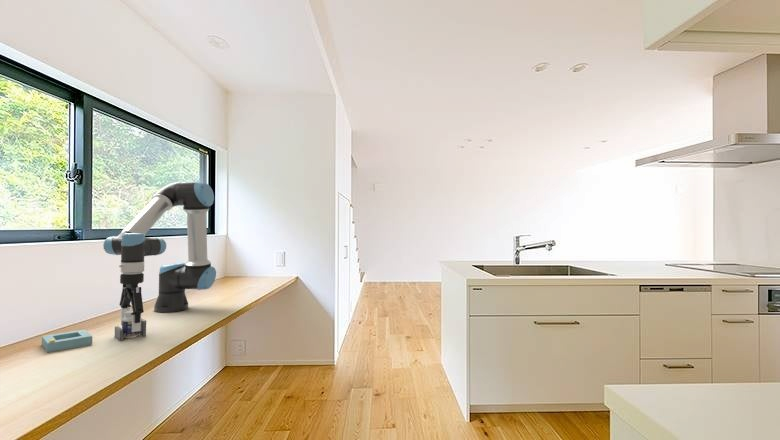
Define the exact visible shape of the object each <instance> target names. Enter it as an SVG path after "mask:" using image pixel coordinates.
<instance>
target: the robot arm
mask: <svg viewBox="0 0 780 440" xmlns="http://www.w3.org/2000/svg"><path fill="white" fill-rule="evenodd" d="M214 201H215V195H214V191H213V189H212V187H211V186H210V185H209V184H208V183H206V182H199V181H197V182H196V181H195V182H191V181H190V182H188V181H186V182H184V181H183V182H182V181H177V182H172V183H170V184H168V185H165V186H164V187H162V188H160V189H159V190H158V191H157V192H156V193H154V195H153V196H152V197H151V201H150V202H149V203H148V204H147V205H146V206H145V207H144V208H143V209H142V210H141V211H140V212H139V213H138V214H137V215H136V216H135V218H133V219H132V220H131V221H130V222H129V224H127V226H125V227H124V229H122V231H121V232H120V233H119V234H117V235H116V236H114V235H113V236H109V237H106V239H105V240H104V242H103V247H102V248H103V250H104V251H105V253H107V254H108V255H113V256H120V259H121V260H120V264H119V265H118V267H119V268H120V272H121V274H120V275H119V279H120V280H119V283H120V284H121V285H122V289H121V296H120V301H119V306H120V310H121V311H120V326H122V319H123V318H124V317H125V312H126V311H131V310H133V312H132V313H131V315H132V332H136V331H141V318H142V314H143V313H144V304H143V296H142V287H141V286H139V284H142V283H143V282H144V278H145V277H144V276H145V274H144V273H143V272H144V271H145V257H150V256H155V257H156V256H159V255H162V254H163V253H165V252H166V249H167V242H166V241H165V239H164V238H162V237H159V236H158V237H157V236H153V237H146V234H147V233H148V232H149V231H150V230H151V228H153V226H154V225H155V224H156V223H157V222H159V221H158V220H159V219H161V217H162V216H163V215H164V214H165V213H166V212H168V211H170V210H171V209H172V208H174V207H178V206H182V209H183V211H184V212H185V213H186V226H187V229H186V231H187V232H186V233H187V252H188V253H187V257H188V260H187V261H186V262H179V263H172V264H165V265H162V266H160V267H159V272H158V296H157V298H156V301H155V304H154V306H153V311H154V312H155V313H176V312H180V311H181V312H182V311H186V310H188V309H189V300H188V298H187V296H186V290H198V291H202V290H203V291H204V290H208V289H210V288H211V287H212V286H213V285H214V283H215V281H216V278H217V270H216V267H214V266H212V262H211V261H210V260H209V259H208V236H207V235H208V234H207V233H208V231H207V213H208V211H209V210H210V207H211V206H212V205H213V204H214Z"/></svg>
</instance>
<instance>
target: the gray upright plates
mask: <svg viewBox="0 0 780 440" xmlns="http://www.w3.org/2000/svg"><path fill="white" fill-rule="evenodd" d="M139 335H140V336H141V337H146V336H147V320H146V319H144V318H142V317H141V331H139V334H138V336H139ZM114 338H115V339H116V340H118V341H119V342H123V340H124V338H123V329H122V327H120V326H118V325H117V326H114Z"/></svg>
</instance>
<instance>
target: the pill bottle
mask: <svg viewBox="0 0 780 440" xmlns="http://www.w3.org/2000/svg"><path fill="white" fill-rule="evenodd" d="M132 312H133V309H130V311H126V312H125V317H124V318H123V319H122V325H121V329H123V339H133V338H136V337H139V331H136V332H132V315H131V313H132Z"/></svg>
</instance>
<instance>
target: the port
mask: <svg viewBox="0 0 780 440" xmlns="http://www.w3.org/2000/svg"><path fill="white" fill-rule="evenodd" d="M92 344H93V335H92V334H91V333H90V332H88V331H87V330H86V329H80V330H72V331H67V332H66V331H65V332H59V333H54V334H46V335H41V346H42V347H43V348H44V351H46V353H53V352H58V351H62V350H68V349H73V348H79V347H84V346H90V345H92Z"/></svg>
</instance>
